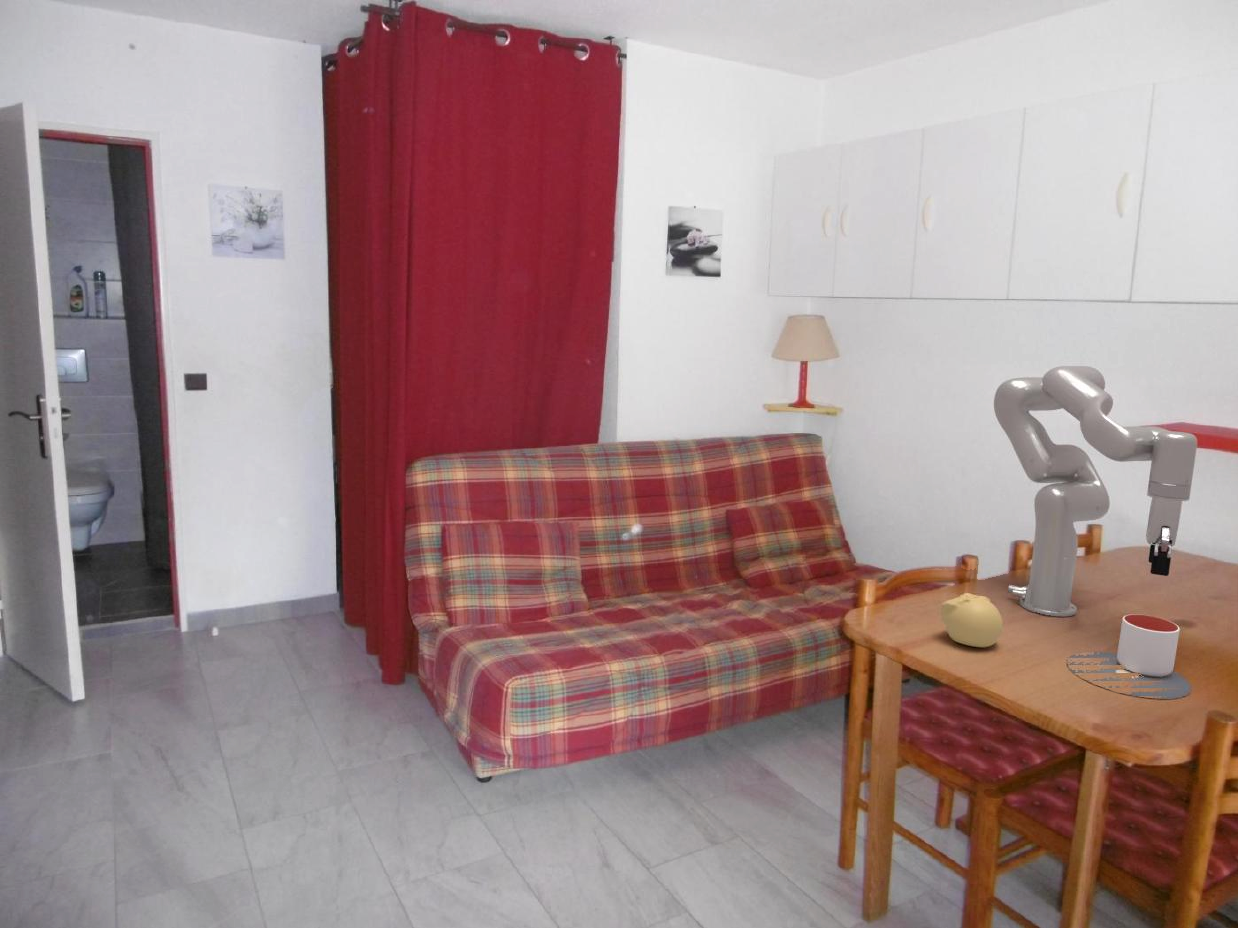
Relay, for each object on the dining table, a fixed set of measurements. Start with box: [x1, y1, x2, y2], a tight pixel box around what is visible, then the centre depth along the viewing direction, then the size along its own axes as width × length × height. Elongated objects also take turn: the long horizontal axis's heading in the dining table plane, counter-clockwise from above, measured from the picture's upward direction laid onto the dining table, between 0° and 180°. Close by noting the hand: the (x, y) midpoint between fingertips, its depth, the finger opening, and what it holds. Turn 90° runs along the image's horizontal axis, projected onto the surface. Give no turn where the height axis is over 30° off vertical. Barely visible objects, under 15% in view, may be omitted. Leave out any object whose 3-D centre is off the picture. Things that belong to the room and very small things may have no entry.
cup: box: [1117, 613, 1181, 677], centre depth 174 cm, size 10×10×10 cm
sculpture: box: [940, 592, 1004, 648], centre depth 186 cm, size 12×12×11 cm
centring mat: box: [1066, 651, 1192, 700], centre depth 172 cm, size 22×22×1 cm
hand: (1158, 568), depth 180 cm, fingers open, 9 cm apart
